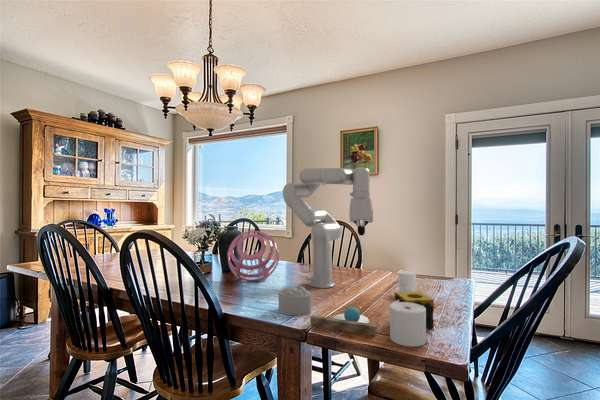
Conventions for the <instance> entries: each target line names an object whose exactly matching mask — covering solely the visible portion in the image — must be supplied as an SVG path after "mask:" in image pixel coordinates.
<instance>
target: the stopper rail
mask: <svg viewBox="0 0 600 400" xmlns="http://www.w3.org/2000/svg"><path fill="white" fill-rule="evenodd" d="M310 327H315V328H319V329H325V330H326V329H327V330H332V331H340V332H345V333H351V334H357V333H359V334H358V335H363V334H366V335H365V336H369V335H373V336H372V337H376V336H377V333H378V332H377V327H378V326H377V324H373V323H361V322H354V321H347V320H341V319H334V318H333V317H332V318H331V317H325V316H318V315H312V316H311V317H310ZM375 335H376V336H375Z"/></svg>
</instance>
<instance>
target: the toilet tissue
mask: <svg viewBox="0 0 600 400" xmlns="http://www.w3.org/2000/svg"><path fill="white" fill-rule="evenodd" d="M390 338H391V339H390ZM389 339H390V341H392V342H393V343H395V344H398V345H401V346H404V347H420V346H423V345H426V343H427V329H426V308H425V307H424V306H422V305H419V304H415V303H410V302H399V300H396V301H395V300H394V301H392V302H391V303H390V305H389Z"/></svg>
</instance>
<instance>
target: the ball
mask: <svg viewBox="0 0 600 400" xmlns="http://www.w3.org/2000/svg"><path fill="white" fill-rule="evenodd" d="M343 313H344V318H345V320H347V321H354V322H358V321H359V319H360V315H361V313H360V311H359V309H357V308H356V307H354V306H350V307H347V308H345V310H344V312H343Z"/></svg>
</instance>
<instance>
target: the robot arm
mask: <svg viewBox="0 0 600 400" xmlns="http://www.w3.org/2000/svg"><path fill="white" fill-rule="evenodd" d="M298 178H299V181H300V182H288V183H286V184H285V185H284V186H283V189H282V198H283V201H284V203H285V204H286V206H287V207H288V208H289V209H290V210H291V211H293V213H294V214H295V215H296V217H297V218H298V219H299V220H300V221H301V222H302V224H303V225H304V226H305V227H307V228H311V229H310V236H311V242H312V269H313V270H312V275H306V276H305V279H306V281H310V282H309V285H310V286H311V287H313V288H317V289H329V288H334V287H335V286H336V283H335V282H334V281H333V271H332V269H333V266H332V265H333V263H332V261H333V258H332V255H333V254H332V253H333V251H332V250H333V249H332V246H331V243H330V242H331V241H335V240H338V239H340V237H341V235H342V228H341V226H340V224H339V223H338V222H337V221H336V220H335V218H334V217H332V216H331V215H330V213H329V212H328V211H326V210H324V209H322V208H312V207H311V206H310V205H309V203H307V202H306V201H305V200H304V199H305V198H306V199H307V198H309V197H312V195H313V194H314V193H315V192H316V191H317V190H318V188H319V187H320V186H321V185H322V186H323V185H324V186H326V185H343V186H344V185H346V186H352V192H349V196H351V198H350V203H349V213H348V214H349V222H350V223H353V224H355V225H356V227H357V234H358V236H364V235H365V234H366V226H367V225H368V224H370V223H373V222H374V219H373V218H374V216H373V215H374V211H373V202H372V198H371V197H370V169H369V168H366V167H357V168H354V169H352V168H343V167H307V168H303V169H301V171H300V172H299V174H298ZM361 222H362V223H361Z"/></svg>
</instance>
